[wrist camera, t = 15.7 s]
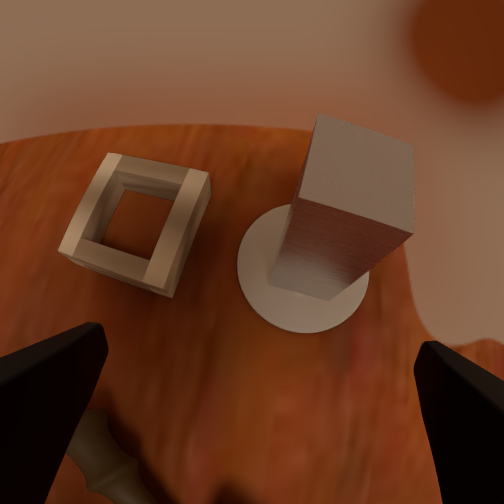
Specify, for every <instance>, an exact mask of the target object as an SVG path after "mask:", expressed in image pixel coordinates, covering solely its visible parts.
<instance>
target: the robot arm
mask: <svg viewBox="0 0 504 504" xmlns="http://www.w3.org/2000/svg"><path fill="white" fill-rule="evenodd" d="M108 350H109V349H108V343H107V340H106V336H105V332H104V329H103V326H102V325H101V324H99V323H94V322H87V323H84V324H82V325H80V326H77V327H75V328H72V329H70V330H67V331H65V332H62V333H60V334H58V335H55V336H53V337H50V338H48V339H45V340H43V341H40V342H38V343H35V344H33V345H31V346H28V347H26V348H23V349H21V350H18V351H16V352H13V353H11V354H9V355H6V356H4V357H1V358H0V504H45V501H46V499H47V496H48V493H49V491H50V488H51V486H52V483H53V481H54V478H55V476H56V474H57V471H58V469H59V466H60V464H61V462H62V459H63V457H64V455H65V453H66V450H67V448H68V446H69V444H70V441H71V439H72V437H73V435H74V433H75V430H76V428H77V426H78V424H79V422H80V420H81V418H82V416H83V413H84V411H85V409H86V407H87V405H88V403H89V401H90V399H91V397H92V395H93V392H94V390H95V387H96V384H97V382H98V379H99V376H100V374H101V371H102V368H103V366H104V363H105V361H106V358H107V355H108ZM414 376H415V381H416V386H417V391H418V396H419V402H420V407H421V413H422V417H423V421H424V425H425V428H426V432H427V436H428V440H429V443H430V447H431V451H432V455H433V459H434V464H435V468H436V473H437V477H438V482H439V487H440V492H441V497H442V502H443V504H504V381H503V380H501V379H500V378H498V377H496V376H495V375H493V374H491V373H490V372H488V371H486V370H485V369H483V368H481V367H480V366H478V365H477V364H475V363H473V362H472V361H470V360H468V359H467V358H465V357H463V356H462V355H460V354H458V353H457V352H455V351H453V350H452V349H450V348H448V347H447V346H445V345H443V344H441V343H440V342H438V341H425V342H423V343H422V345H421V347H420V350H419V353H418V356H417V358H416V361H415V364H414Z"/></svg>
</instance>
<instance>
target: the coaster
mask: <svg viewBox="0 0 504 504" xmlns="http://www.w3.org/2000/svg"><path fill="white" fill-rule="evenodd" d="M290 206H291V204H288V205H283V206H280V207H277V208H274V209H272V210H270V211H268V212H266V213H265V214H263V215H262V216H261V217H259V218H258V219H257V220H256V221H255V222H254V223H253V224H252V225H251V226H250V228H249V229H248V230H247V232H246V234H245V235H244V237H243V239H242V242H241V245H240V248H239V252H238V260H237V271H238V279H239V283H240V286H241V289H242V292H243V294H244V296H245V298H246V300H247V301H248V303H249V304H250V306H251V307H252V308H253V309H254V310H255V312H256V313H257V314H258V315H259V316H261V317H262V318H263V319H264V320H266V321H267V322H269V323H270V324H272V325H274V326H276V327H278V328H280V329H283V330H286V331H289V332H295V333H317V332H321V331H325V330H327V329H330V328H332V327H335V326H337V325H338V324H340V323H342V322H343V321H345V320H346V319H347V318H348V317H350V316H351V315H352V314H353V313H354V312H355V310H356V309H357V308H358V306H359V305H360V303H361V302H362V300H363V298H364V296H365V293H366V290H367V286H368V281H369V271H368V272H367V273H365V274H364V275H363V276H361V277H360V278H359V279H358V280H356V281H355V282H354V283H352V284H351V285H350V286H348V287H347V288H346V289H344V290H343V291H342V292H340V293H339V294H338V295H336V296H335V297H334V298H332V299H331V300H330V301H326V300H322V299H318V298H314V297H311V296H307V295H303V294H300V293H296V292H292V291H289V290H285V289H281V288H278V287H274V286H271V285H268V283H269V279H270V276H271V272H272V269H273V265H274V261H275V258H276V254H277V250H278V246H279V243H280V239H281V235H282V232H283V228H284V225H285V222H286V218H287V215H288V212H289V209H290Z"/></svg>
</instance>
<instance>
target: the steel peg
mask: <svg viewBox="0 0 504 504" xmlns="http://www.w3.org/2000/svg"><path fill="white" fill-rule="evenodd" d="M414 211H415V178H414V152H413V146H412V145H410V144H408V143H405V142H403V141H400V140H397V139H395V138H392V137H390V136H387V135H384V134H382V133H379V132H376V131H373V130H370V129H368V128H365V127H362V126H359V125H356V124H353V123H350V122H347V121H344V120H340V119H337V118H334V117H331V116H327V115H324V114H320V113H318V116H317V119H316V122H315V126H314V129H313V133H312V136H311V139H310V143H309V146H308V150H307V153H306V156H305V160H304V163H303V166H302V170H301V173H300V176H299V179H298V183H297V186H296V189H295V193H294V196H293V199H292V202H291V206H290V209H289V212H288V215H287V218H286V222H285V225H284V228H283V232H282V235H281V239H280V243H279V246H278V250H277V254H276V258H275V261H274V265H273V269H272V272H271V276H270V279H269V283H268V285H271V286H274V287H278V288H281V289H285V290H289V291H292V292H296V293H300V294H303V295H307V296H311V297H314V298H318V299H322V300H326V301H330V300H331V299H332V298H334V297H335V296H336V295H338V294H339V293H340V292H342V291H343V290H344V289H346V288H347V287H348V286H350V285H351V284H352V283H354V282H355V281H356V280H358V279H359V278H360V277H361V276H363V275H364V274H365V273H367V272H368V271H369V270H370V269H372V268H373V267H374V266H375V265H377V264H378V263H379V262H380V261H382V260H383V259H384V258H385V257H387V256H388V255H389V254H390V253H391V252H393V251H394V250H395V249H396V248H398V247H399V246H400V245H401V244H402V243H404V242H405V241H406V240H407V239H408V238H409V237H411V236H412V235H413V234H414V214H415V213H414Z"/></svg>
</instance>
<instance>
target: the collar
mask: <svg viewBox="0 0 504 504" xmlns="http://www.w3.org/2000/svg"><path fill="white" fill-rule="evenodd" d="M125 189H126V190H130V191H134V192H139V193H143V194H147V195H151V196H155V197H159V198H163V199H167V200H171V201H175V202H174V204H173V207H172V209H171V211H170V214H169V216H168V218H167V221H166V223H165V225H164V228H163V230H162V233H161V235H160V237H159V240H158V242H157V245H156V247H155V250H154V252H153V255H152V257H151V260H147V259H144V258H140V257H137V256H134V255H131V254H128V253H125V252H122V251H119V250H116V249H113V248H110V247H107V246H104V245H101V244H100V242H101V240H102V238H103V235H104V233H105V231H106V229H107V226H108V224H109V222H110V220H111V218H112V216H113V213H114V211H115V209H116V207H117V205H118V203H119V201H120V199H121V197H122V195H123V193H124V191H125ZM211 194H212V193H211V186H210V178H209V173H208V172H204V171H199V170H195V169H190V168H186V167H181V166H177V165H172V164H167V163H162V162H157V161H152V160H147V159H142V158H136V157H131V156H126V155H120V154H114V153H108V154H107V156H106V157H105V159H104V161H103V162H102V164H101V166H100V167H99V169H98V171H97V173H96V174H95V176H94V178H93V180H92V182H91V183H90V185H89V187H88V189H87V191H86V193H85V195H84V197H83V198H82V200H81V202H80V204H79V206H78V208H77V210H76V212H75V214H74V216H73V218H72V221H71V223H70V225H69V227H68V229H67V231H66V233H65V236H64V238H63V240H62V242H61V245H60V247H59V249H58V251H59V252H60V253H62V254H63V255H64V256H66V257H67V258H68V259H70V260H71V261H73V262H74V263H75V264H78V265H80V266H83V267H85V268H88V269H91V270H93V271H96V272H98V273H101V274H104V275H106V276H109V277H112V278H115V279H117V280H120V281H123V282H126V283H128V284H131V285H134V286H137V287H140V288H143V289H146V290H148V291H151V292H154V293H157V294H160V295H163V296H166V297H169V298H172V299H173V296H174V293H175V290H176V288H177V285H178V282H179V279H180V276H181V273H182V271H183V268H184V265H185V262H186V259H187V257H188V254H189V251H190V249H191V246H192V243H193V240H194V238H195V235H196V232H197V230H198V227H199V225H200V222H201V219H202V217H203V214H204V212H205V209H206V207H207V204H208V201H209V199H210V196H211Z"/></svg>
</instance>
